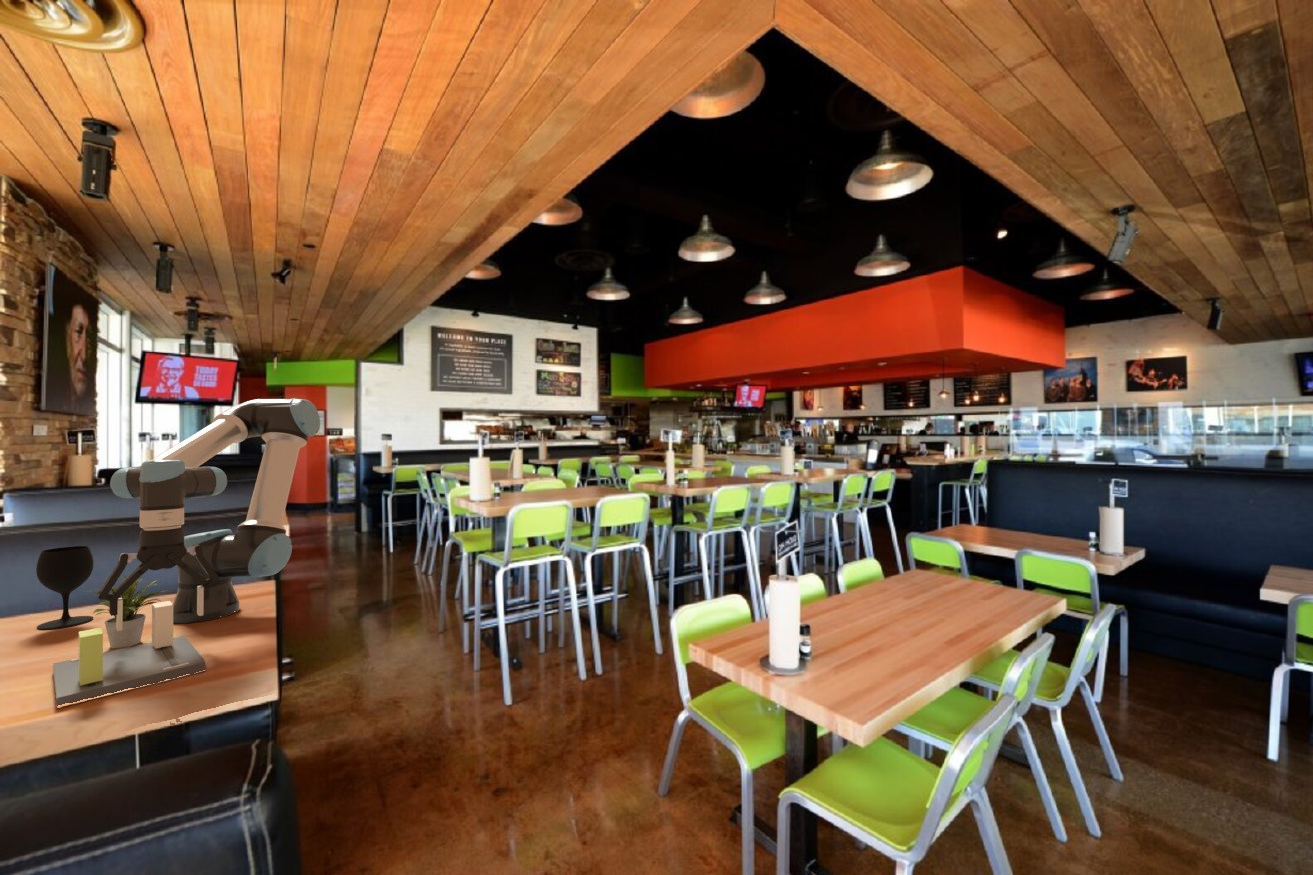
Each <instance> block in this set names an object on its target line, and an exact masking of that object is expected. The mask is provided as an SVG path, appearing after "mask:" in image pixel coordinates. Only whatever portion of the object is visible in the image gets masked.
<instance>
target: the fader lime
mask: <svg viewBox="0 0 1313 875" xmlns="http://www.w3.org/2000/svg"><path fill="white" fill-rule="evenodd" d="M103 653H104V633H103V630H102V628H101V627H95V628H93V629H91V628H90V629H86V630H81V631H78V658H79V682H80V685H85V684H89V683H93V682H97V681H101V680H103Z"/></svg>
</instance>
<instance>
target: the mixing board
mask: <svg viewBox="0 0 1313 875" xmlns="http://www.w3.org/2000/svg"><path fill="white" fill-rule="evenodd" d="M52 667H53V671H52V672H53V683H54V684H55V685H54V684H53V685H54V692H55V693H56V695H55V704H56V703H57V706H58V705H62V704H65V703H73V702H77V701H80V700H83V699H88V698H94V697H97V696H101V695H104V694H107V693H114V692H117V691H120V690H121V691H122V690H124V689H128V688H136V687H140V686H143V685H147V684H153V683H158V682H160V681H164V680H166V679H173V678H177V677H179V676H183V675H186V674H193V675H195V674H194V673H196V672H199V671H203V670H206V661H205V659H204V658H203V657H202V655H201V654H200V652H198V650H197V649H196V648H195V647H194V646H193V644H192V643H191V641H190V640H188V638H187V637H186V636H185V635H182V636H177V637H173V645H170V646H165V647H161V648H156V649H155V647H154V646H153V644H152V642H148V643H143V644H139V645H135V646H134V645H132V646H128V647H123V648H118V649H114V650H111V651H110V650H109V651H107V652H105V651H104V652H103V680H101V681H97V682H93V683H89V684H85V685H80V682H79V657H77V658H72V659H67V660H62V661H59V662H54V663H53V666H52ZM206 671H207V670H206ZM177 679H178V678H177ZM173 680H174V679H173ZM158 684H159V683H158ZM57 706H56V707H57Z"/></svg>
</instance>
